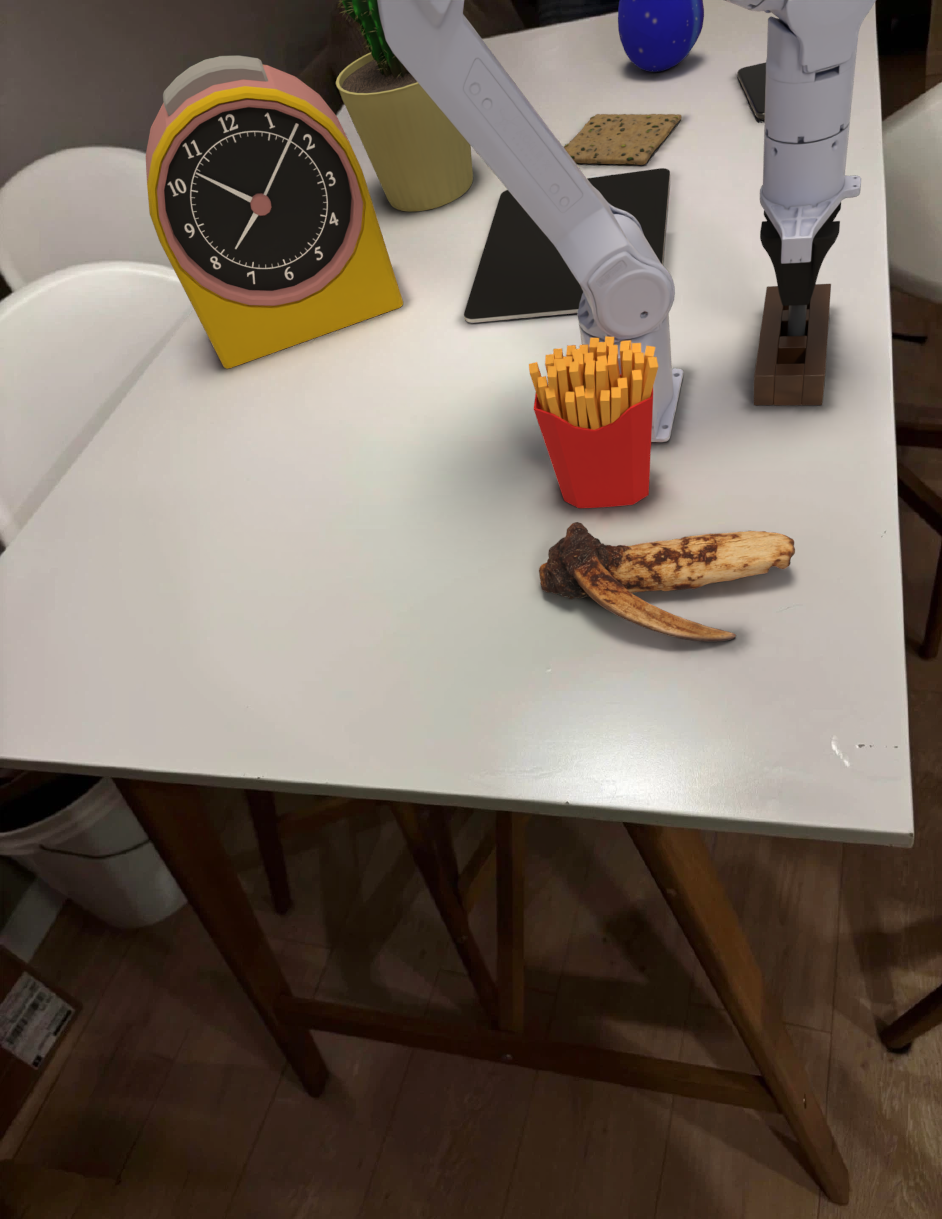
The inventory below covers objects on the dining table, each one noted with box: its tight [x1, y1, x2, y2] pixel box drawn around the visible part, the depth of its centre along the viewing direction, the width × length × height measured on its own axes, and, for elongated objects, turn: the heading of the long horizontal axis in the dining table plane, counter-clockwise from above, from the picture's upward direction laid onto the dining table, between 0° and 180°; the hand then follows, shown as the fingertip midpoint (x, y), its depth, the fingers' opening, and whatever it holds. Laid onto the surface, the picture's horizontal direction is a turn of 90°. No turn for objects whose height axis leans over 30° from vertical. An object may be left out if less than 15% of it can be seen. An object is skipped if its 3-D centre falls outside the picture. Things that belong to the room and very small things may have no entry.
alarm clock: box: [145, 55, 404, 369], centre depth 90 cm, size 21×9×26 cm, turn 105°
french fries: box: [528, 336, 658, 509], centre depth 67 cm, size 9×4×13 cm, turn 82°
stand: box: [753, 283, 832, 406], centre depth 76 cm, size 5×13×3 cm, turn 164°
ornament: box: [617, 0, 705, 73], centre depth 117 cm, size 11×9×15 cm
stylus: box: [787, 305, 807, 336], centre depth 74 cm, size 1×1×9 cm
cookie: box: [563, 113, 682, 166], centre depth 111 cm, size 12×12×1 cm
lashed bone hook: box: [538, 521, 796, 643], centre depth 62 cm, size 9×5×18 cm
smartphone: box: [736, 61, 766, 120], centre depth 110 cm, size 7×1×15 cm
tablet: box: [463, 167, 671, 324], centre depth 97 cm, size 27×1×20 cm
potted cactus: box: [334, 0, 474, 213], centre depth 103 cm, size 15×15×30 cm
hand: (796, 296), depth 73 cm, fingers closed on stylus, 1 cm apart
